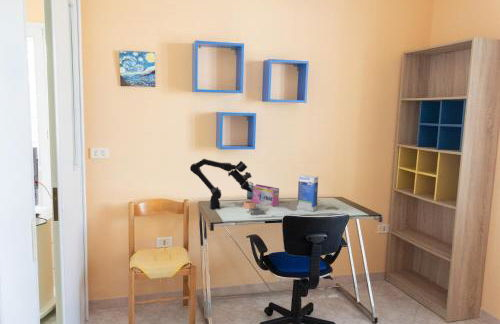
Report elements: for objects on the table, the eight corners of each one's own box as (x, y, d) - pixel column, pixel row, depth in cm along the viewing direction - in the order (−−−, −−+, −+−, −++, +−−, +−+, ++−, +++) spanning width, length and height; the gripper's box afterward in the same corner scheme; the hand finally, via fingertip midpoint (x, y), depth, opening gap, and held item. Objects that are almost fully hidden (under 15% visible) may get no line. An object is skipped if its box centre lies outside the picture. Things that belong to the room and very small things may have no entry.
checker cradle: (251, 216, 275) (252, 212, 274) (246, 212, 285) (246, 208, 285) (266, 215, 279) (266, 210, 278) (260, 211, 289) (260, 207, 289)
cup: (246, 210, 292) (246, 203, 291) (242, 207, 299) (242, 201, 299) (256, 209, 295) (256, 203, 294) (252, 207, 302) (252, 200, 302)
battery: (250, 199, 293) (250, 182, 291) (245, 198, 296) (246, 181, 294) (254, 198, 296) (254, 182, 294) (249, 197, 299) (250, 181, 297)
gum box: (249, 201, 321) (249, 185, 319) (255, 200, 327) (256, 183, 325) (272, 206, 306) (273, 189, 304) (278, 205, 312) (279, 188, 310)
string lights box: (317, 209, 300) (318, 176, 296) (312, 211, 294) (314, 177, 290) (301, 207, 307) (302, 174, 304) (296, 208, 301) (298, 175, 297)
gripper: (246, 171, 283) (260, 186, 286) (244, 167, 302) (258, 181, 304) (234, 181, 284) (249, 196, 286) (234, 177, 302) (248, 191, 305)
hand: (251, 191), depth 295 cm, fingers closed on battery, 4 cm apart
